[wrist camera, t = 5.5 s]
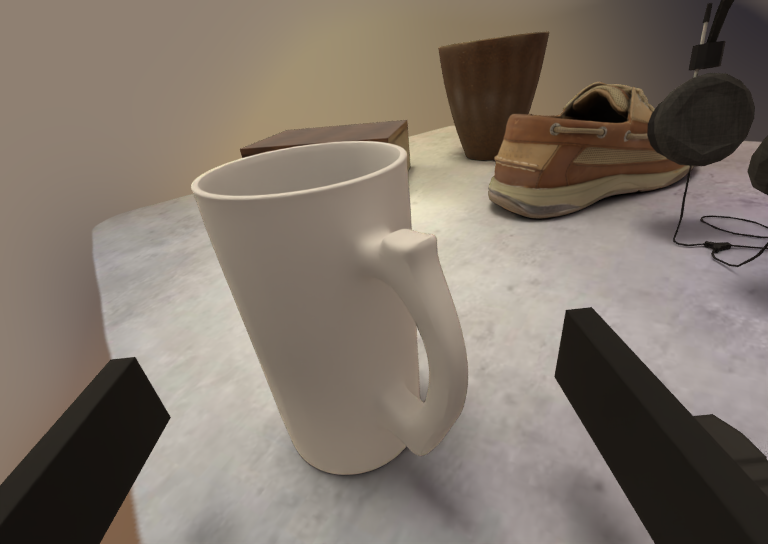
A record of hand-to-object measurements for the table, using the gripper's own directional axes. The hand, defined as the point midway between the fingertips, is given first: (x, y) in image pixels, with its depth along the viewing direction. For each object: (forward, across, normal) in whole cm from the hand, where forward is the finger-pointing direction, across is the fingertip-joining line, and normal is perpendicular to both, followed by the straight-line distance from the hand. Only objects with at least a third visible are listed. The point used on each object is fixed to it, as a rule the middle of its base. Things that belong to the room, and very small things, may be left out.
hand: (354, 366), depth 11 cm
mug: (+2, 0, -6) cm, 7 cm away
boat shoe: (+31, +26, -6) cm, 41 cm away
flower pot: (+52, +19, -7) cm, 56 cm away
